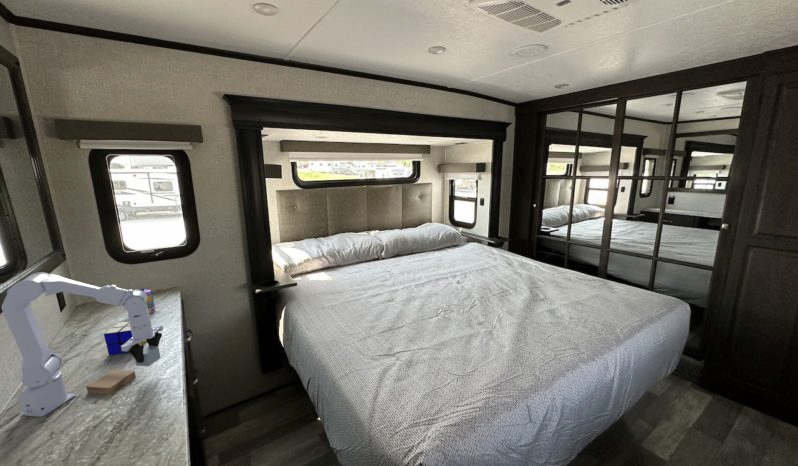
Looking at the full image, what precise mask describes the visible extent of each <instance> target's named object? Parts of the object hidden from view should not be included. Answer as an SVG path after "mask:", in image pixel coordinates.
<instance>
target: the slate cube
mask: <svg viewBox="0 0 798 466" xmlns="http://www.w3.org/2000/svg"><path fill="white" fill-rule="evenodd" d="M143 356H144V362H143V363H137V361H136V360H135V359H134V362H135V366H136V367H137V366H138V367H139V366H140V367H150V366H152V365H154V363H156V362H157V361H159V360H160V359H161V353H160V349H159V345H158V346H149V345H145V346H144V349H143Z"/></svg>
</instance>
